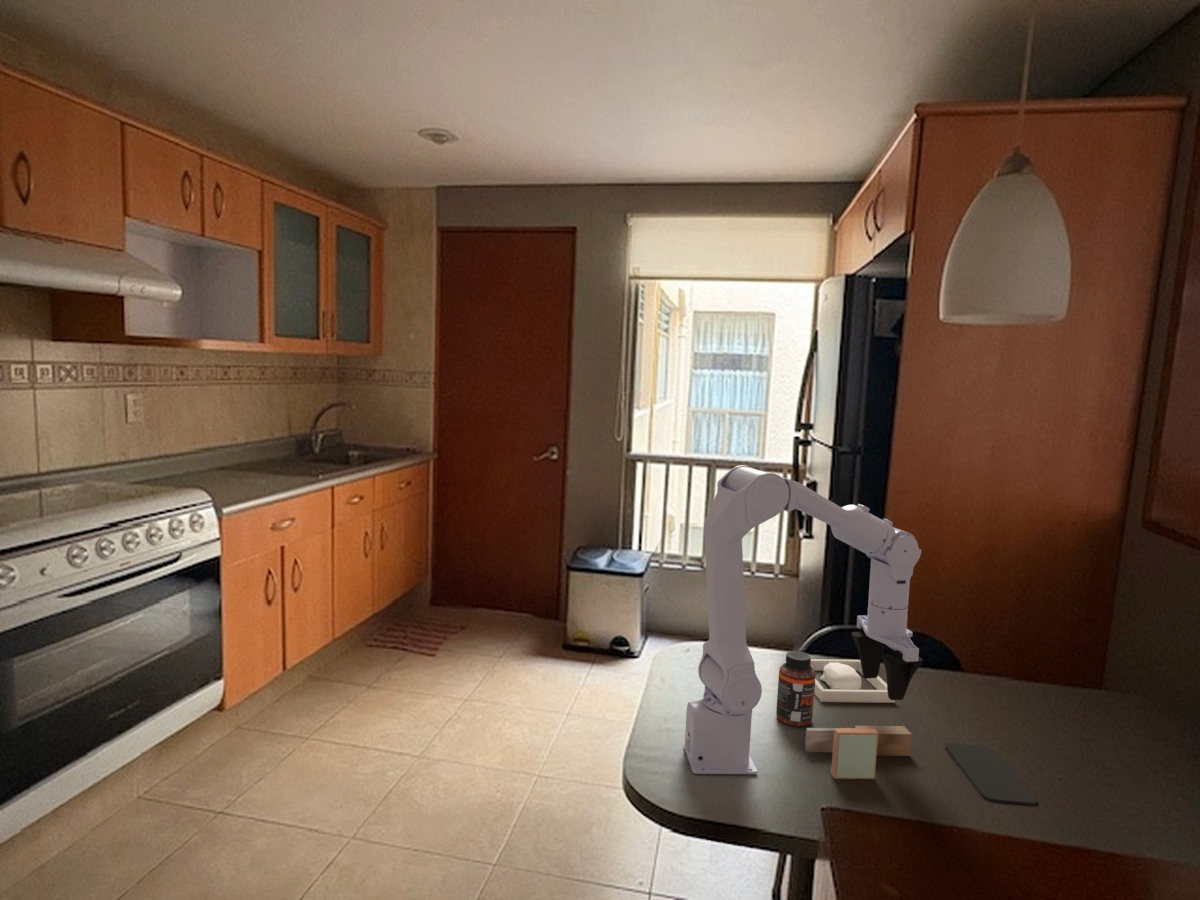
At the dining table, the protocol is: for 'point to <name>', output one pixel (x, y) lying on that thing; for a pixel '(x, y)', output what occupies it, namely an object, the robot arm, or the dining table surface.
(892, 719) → the dining table surface
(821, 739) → the scraper
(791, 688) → the supplement bottle
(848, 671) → the white rounded lump
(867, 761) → the tile
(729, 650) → the robot arm
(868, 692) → the garlic dish rim
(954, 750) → the phone
